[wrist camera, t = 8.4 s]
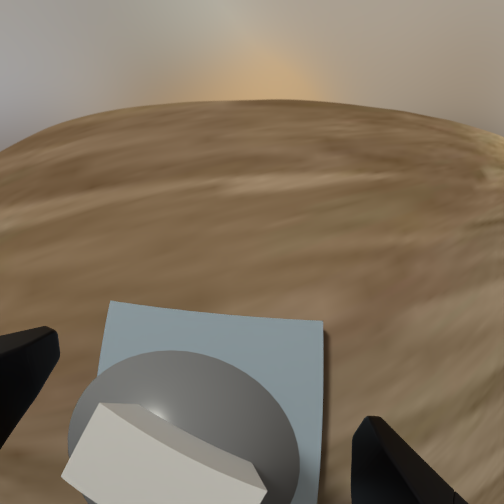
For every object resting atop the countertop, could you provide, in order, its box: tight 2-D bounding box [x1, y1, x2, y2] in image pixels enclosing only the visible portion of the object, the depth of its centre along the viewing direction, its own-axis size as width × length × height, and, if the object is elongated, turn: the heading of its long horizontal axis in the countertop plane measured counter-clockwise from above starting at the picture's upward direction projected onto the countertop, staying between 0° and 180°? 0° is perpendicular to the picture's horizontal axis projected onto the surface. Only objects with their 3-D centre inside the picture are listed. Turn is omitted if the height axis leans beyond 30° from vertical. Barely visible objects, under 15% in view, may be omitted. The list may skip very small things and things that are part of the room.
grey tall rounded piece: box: [61, 350, 300, 504], centre depth 8 cm, size 5×5×12 cm
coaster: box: [97, 301, 323, 504], centre depth 14 cm, size 12×12×1 cm
